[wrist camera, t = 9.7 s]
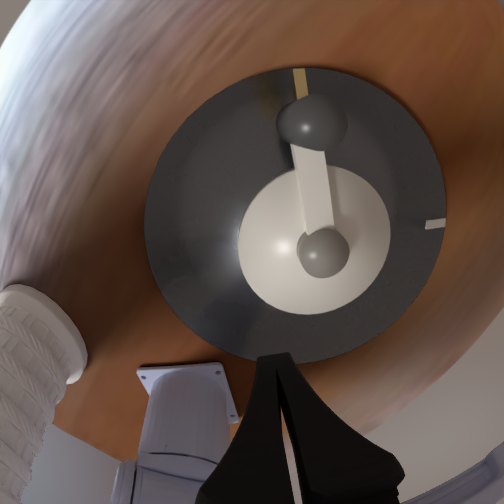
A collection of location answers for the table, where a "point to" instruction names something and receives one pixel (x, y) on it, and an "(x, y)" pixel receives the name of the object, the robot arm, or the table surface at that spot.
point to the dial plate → (253, 179)
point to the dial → (313, 220)
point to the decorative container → (31, 378)
